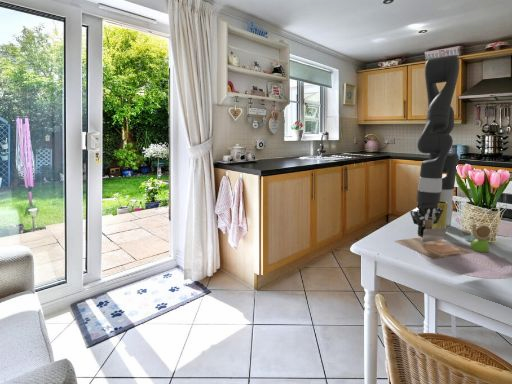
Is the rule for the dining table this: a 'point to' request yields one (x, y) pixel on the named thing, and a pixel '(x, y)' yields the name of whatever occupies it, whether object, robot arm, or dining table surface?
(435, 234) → the wooden stamp block
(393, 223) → the dining table surface
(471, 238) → the pacifier
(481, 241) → the snail figurine
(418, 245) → the board
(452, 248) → the tile
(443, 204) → the vase
